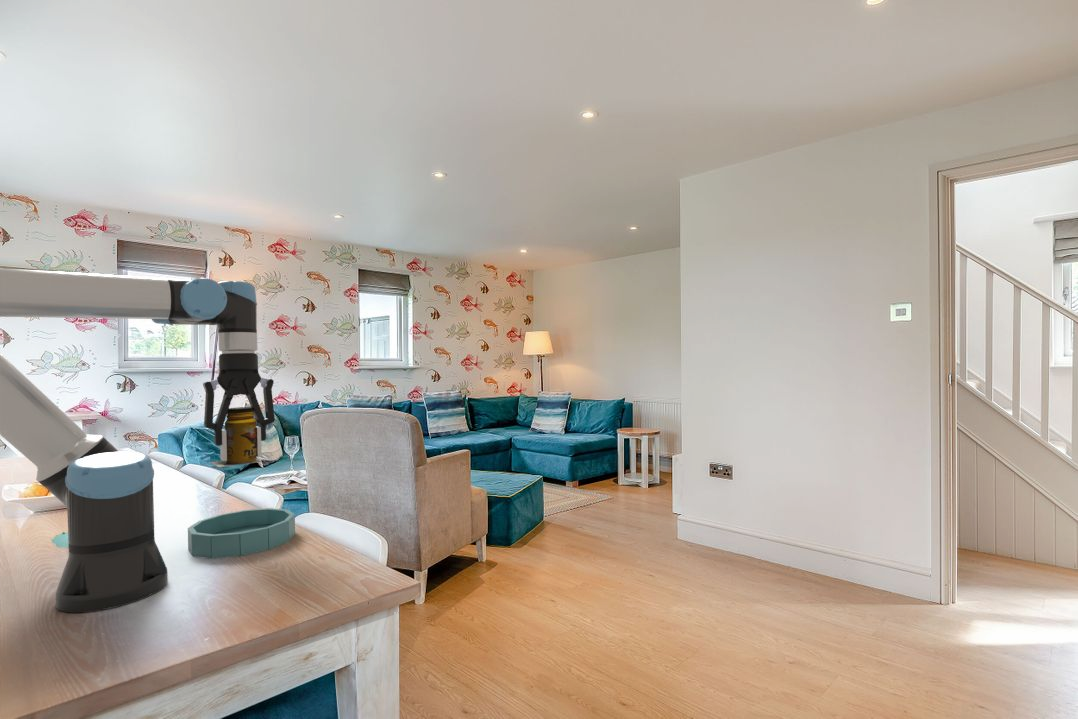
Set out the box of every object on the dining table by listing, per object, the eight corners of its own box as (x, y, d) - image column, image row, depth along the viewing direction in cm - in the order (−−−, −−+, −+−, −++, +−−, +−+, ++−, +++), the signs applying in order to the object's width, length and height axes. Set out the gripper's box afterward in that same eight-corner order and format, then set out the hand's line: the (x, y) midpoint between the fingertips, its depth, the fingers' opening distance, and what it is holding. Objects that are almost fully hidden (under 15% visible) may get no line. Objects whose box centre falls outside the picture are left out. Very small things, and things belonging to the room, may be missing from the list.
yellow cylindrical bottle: (262, 462, 120) (261, 407, 120) (219, 467, 114) (217, 410, 114) (253, 458, 125) (251, 406, 125) (210, 463, 120) (209, 408, 120)
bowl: (305, 541, 119) (304, 520, 119) (198, 565, 106) (197, 542, 106) (279, 522, 134) (279, 503, 134) (183, 541, 121) (182, 521, 121)
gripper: (280, 352, 129) (282, 450, 129) (184, 353, 117) (187, 462, 117) (289, 351, 124) (292, 454, 123) (190, 352, 111) (193, 466, 111)
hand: (241, 457), depth 120 cm, fingers closed on yellow cylindrical bottle, 6 cm apart
